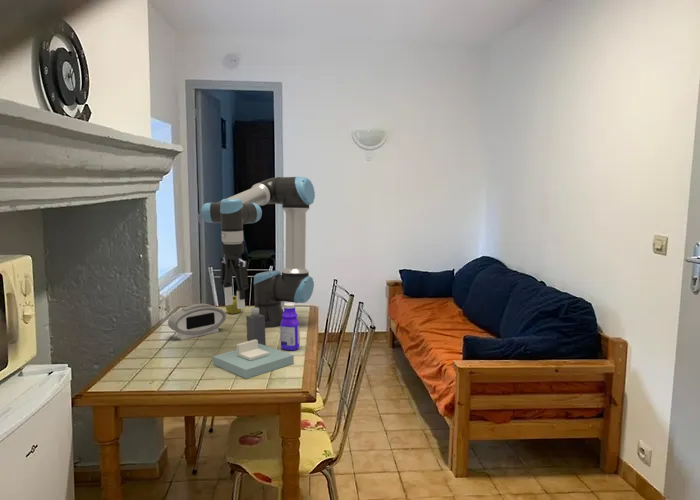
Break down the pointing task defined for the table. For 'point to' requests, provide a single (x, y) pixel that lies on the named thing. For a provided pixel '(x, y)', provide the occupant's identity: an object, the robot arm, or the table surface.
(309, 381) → the table surface
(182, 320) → the alarm clock
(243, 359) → the socket plate
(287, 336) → the bottle
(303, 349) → the table surface
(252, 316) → the plug
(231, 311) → the apple
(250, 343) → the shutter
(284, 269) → the robot arm
